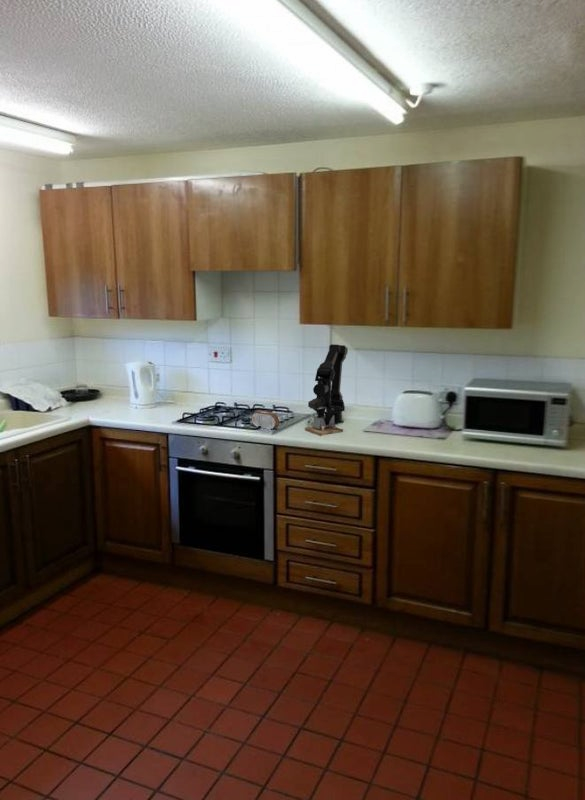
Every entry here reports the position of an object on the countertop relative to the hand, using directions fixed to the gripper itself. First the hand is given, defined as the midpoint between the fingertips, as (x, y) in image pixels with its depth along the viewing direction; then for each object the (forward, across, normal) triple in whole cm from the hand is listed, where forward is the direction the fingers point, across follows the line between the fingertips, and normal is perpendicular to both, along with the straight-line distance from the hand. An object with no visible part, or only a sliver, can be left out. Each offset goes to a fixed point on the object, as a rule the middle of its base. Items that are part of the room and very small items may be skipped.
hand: (324, 424), depth 309 cm
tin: (+4, -20, -21) cm, 29 cm away
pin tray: (+4, 0, 0) cm, 4 cm away
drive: (+1, 0, 0) cm, 1 cm away
